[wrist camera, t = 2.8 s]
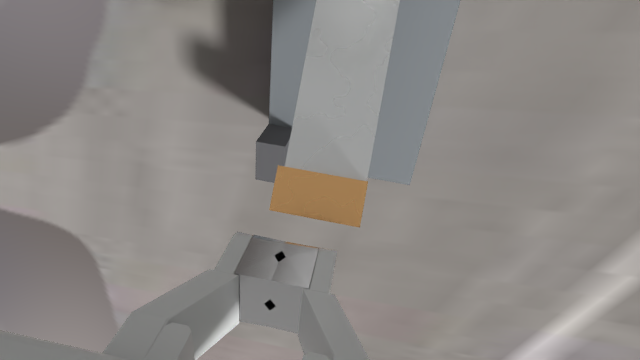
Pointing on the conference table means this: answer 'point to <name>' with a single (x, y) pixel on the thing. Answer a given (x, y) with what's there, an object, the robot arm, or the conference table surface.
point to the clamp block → (398, 95)
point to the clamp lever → (337, 111)
